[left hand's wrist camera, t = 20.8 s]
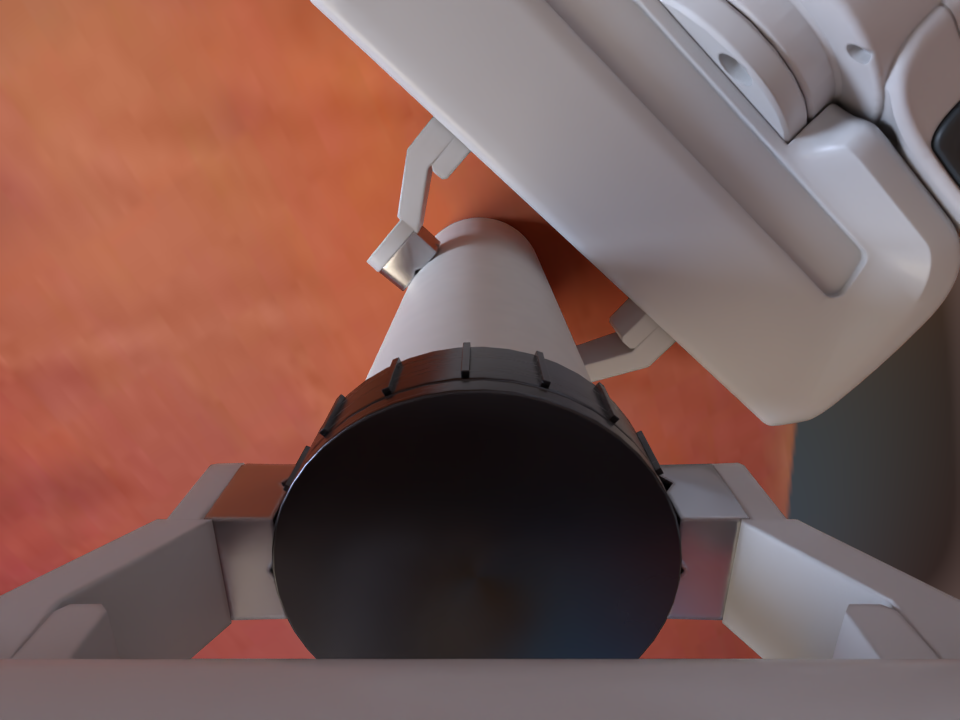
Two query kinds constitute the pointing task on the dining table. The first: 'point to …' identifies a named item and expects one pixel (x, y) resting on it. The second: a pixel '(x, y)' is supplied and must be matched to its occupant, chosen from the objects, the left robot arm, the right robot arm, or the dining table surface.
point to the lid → (476, 518)
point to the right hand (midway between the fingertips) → (462, 336)
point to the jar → (480, 300)
